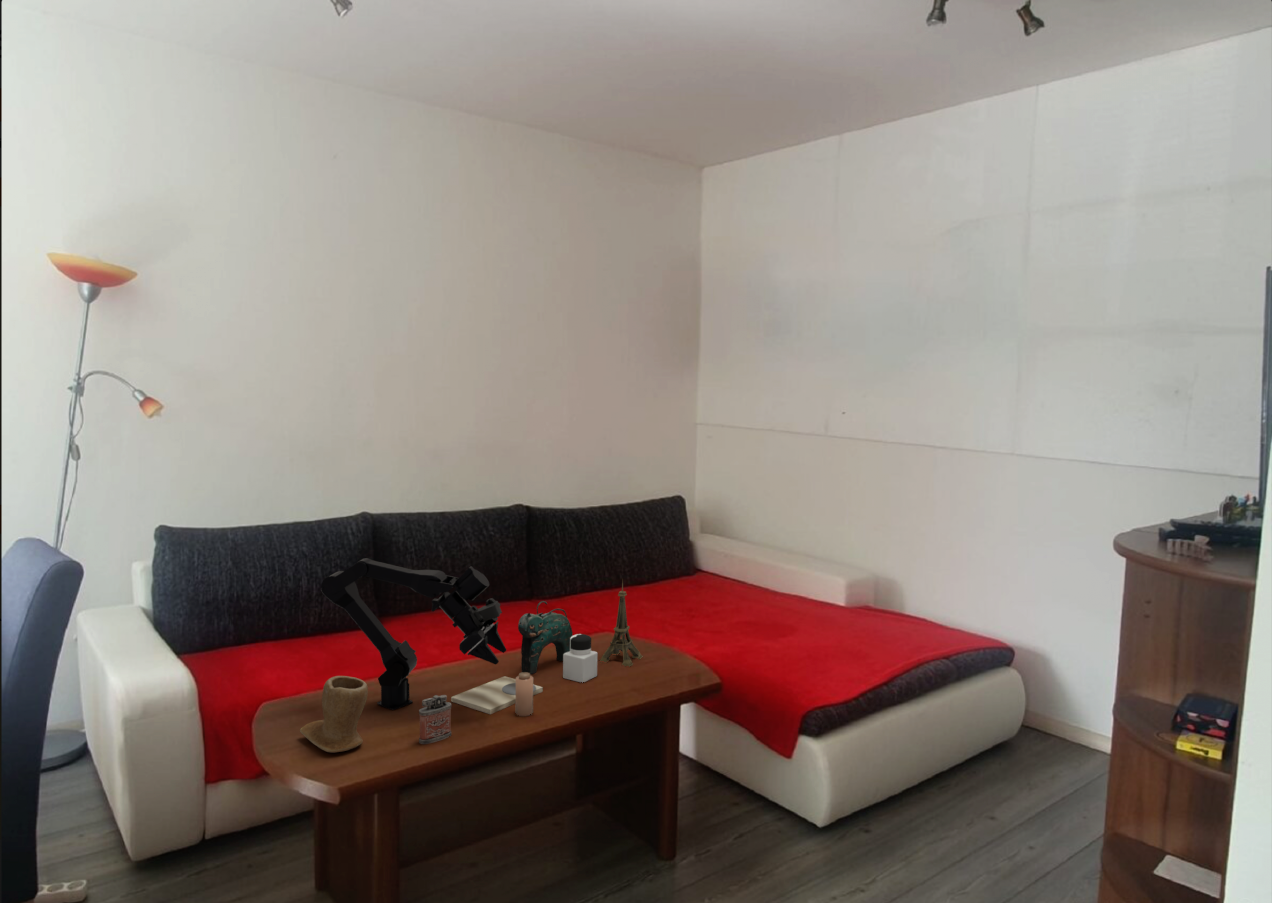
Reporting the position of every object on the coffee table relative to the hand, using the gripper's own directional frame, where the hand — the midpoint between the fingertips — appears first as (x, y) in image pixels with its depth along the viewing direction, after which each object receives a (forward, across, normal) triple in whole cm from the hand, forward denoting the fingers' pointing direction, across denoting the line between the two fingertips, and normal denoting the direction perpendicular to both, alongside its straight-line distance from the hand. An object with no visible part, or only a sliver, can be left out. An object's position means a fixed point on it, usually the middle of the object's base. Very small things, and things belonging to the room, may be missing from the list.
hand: (501, 657), depth 215 cm
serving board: (+8, +8, +11) cm, 16 cm away
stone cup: (-12, -24, +33) cm, 43 cm away
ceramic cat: (+14, +34, +5) cm, 37 cm away
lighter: (+2, -19, +18) cm, 26 cm away
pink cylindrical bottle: (+14, -2, +5) cm, 15 cm away
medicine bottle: (+22, +25, -3) cm, 33 cm away
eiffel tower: (+29, +42, -11) cm, 52 cm away
